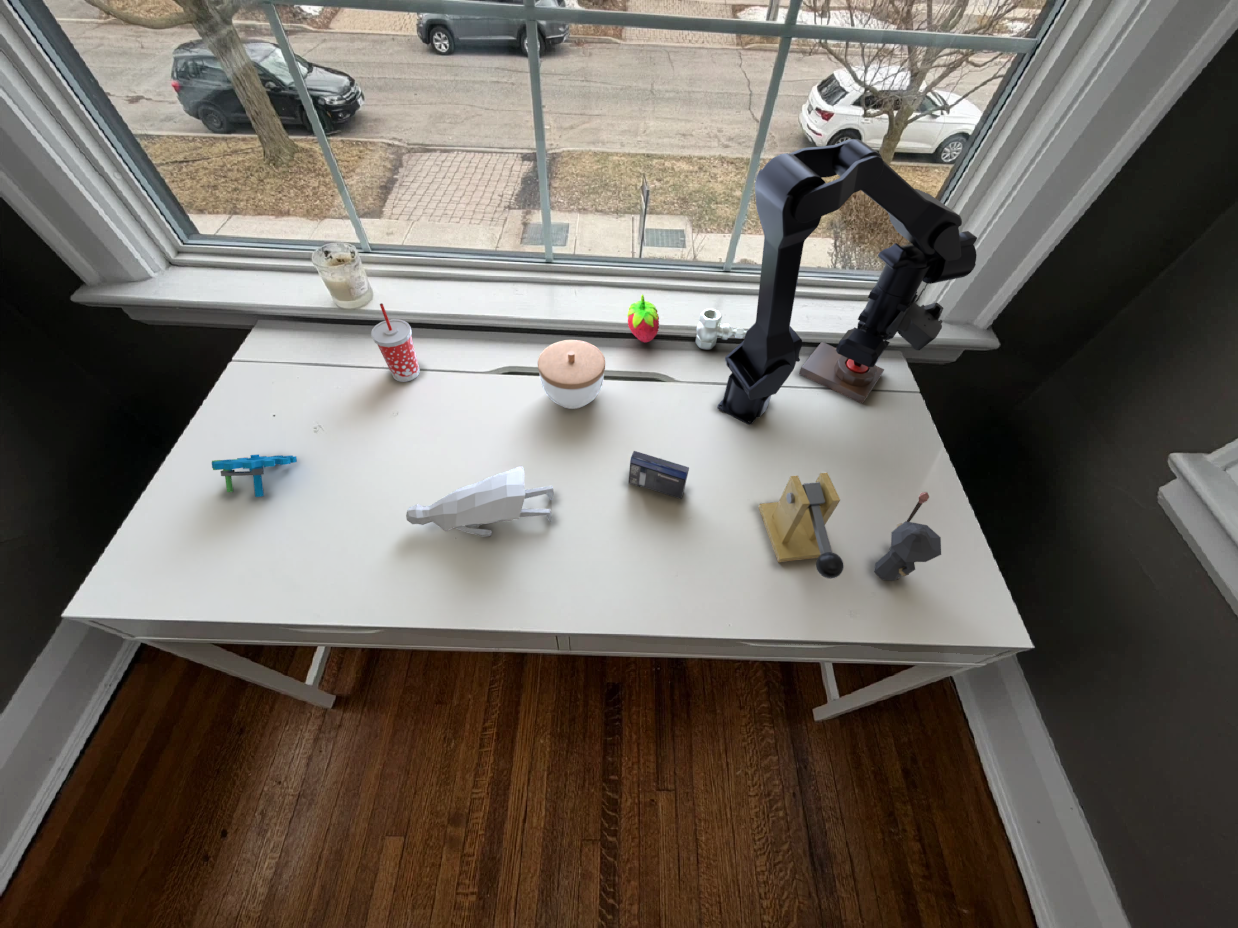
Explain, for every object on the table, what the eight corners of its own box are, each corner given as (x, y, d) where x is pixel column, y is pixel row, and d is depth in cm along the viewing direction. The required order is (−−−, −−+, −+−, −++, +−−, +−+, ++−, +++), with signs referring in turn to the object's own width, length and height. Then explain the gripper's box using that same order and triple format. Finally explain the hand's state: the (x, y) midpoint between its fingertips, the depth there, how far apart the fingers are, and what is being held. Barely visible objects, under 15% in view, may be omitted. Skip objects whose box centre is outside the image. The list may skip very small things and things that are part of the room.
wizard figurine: (915, 591, 72) (963, 546, 63) (874, 593, 72) (917, 548, 63) (891, 537, 78) (932, 487, 68) (853, 538, 77) (889, 489, 68)
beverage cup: (419, 385, 93) (396, 317, 82) (383, 384, 93) (354, 315, 82) (428, 361, 97) (406, 293, 86) (393, 360, 97) (367, 291, 86)
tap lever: (839, 579, 68) (851, 574, 65) (815, 582, 68) (826, 577, 65) (814, 488, 73) (825, 480, 70) (791, 491, 72) (801, 482, 69)
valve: (693, 353, 100) (758, 361, 100) (698, 324, 95) (767, 332, 94) (695, 331, 104) (758, 338, 104) (700, 301, 99) (766, 309, 98)
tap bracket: (826, 557, 75) (855, 514, 67) (777, 563, 74) (801, 520, 66) (803, 503, 81) (828, 457, 72) (757, 508, 80) (777, 462, 71)
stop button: (840, 373, 96) (844, 365, 94) (848, 362, 97) (851, 354, 96) (860, 382, 94) (863, 374, 93) (867, 371, 96) (871, 363, 95)
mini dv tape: (628, 483, 82) (630, 458, 77) (631, 475, 83) (633, 450, 78) (680, 500, 80) (686, 475, 75) (683, 492, 81) (689, 467, 76)
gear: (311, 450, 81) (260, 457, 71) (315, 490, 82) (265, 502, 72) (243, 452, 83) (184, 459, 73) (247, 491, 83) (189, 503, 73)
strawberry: (626, 354, 100) (628, 308, 92) (625, 328, 104) (628, 282, 96) (657, 355, 100) (663, 309, 92) (655, 329, 104) (661, 283, 96)
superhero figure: (550, 484, 82) (410, 491, 78) (553, 445, 75) (398, 451, 71) (557, 544, 76) (405, 556, 72) (560, 508, 69) (392, 519, 65)
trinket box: (616, 390, 94) (618, 347, 86) (580, 428, 88) (579, 386, 81) (565, 366, 97) (563, 322, 90) (528, 401, 91) (522, 358, 84)
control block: (798, 374, 98) (804, 359, 95) (818, 348, 103) (825, 333, 100) (862, 404, 94) (870, 389, 91) (880, 376, 98) (888, 361, 96)
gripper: (931, 338, 75) (883, 417, 87) (968, 278, 84) (920, 356, 97) (854, 307, 79) (818, 386, 91) (897, 252, 88) (860, 330, 100)
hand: (857, 364), depth 95 cm, fingers closed, pressing on stop button
